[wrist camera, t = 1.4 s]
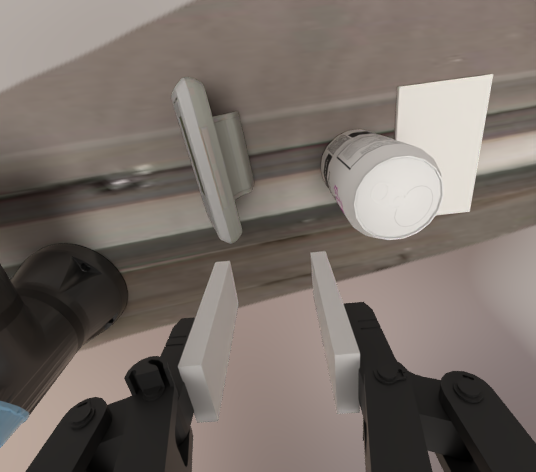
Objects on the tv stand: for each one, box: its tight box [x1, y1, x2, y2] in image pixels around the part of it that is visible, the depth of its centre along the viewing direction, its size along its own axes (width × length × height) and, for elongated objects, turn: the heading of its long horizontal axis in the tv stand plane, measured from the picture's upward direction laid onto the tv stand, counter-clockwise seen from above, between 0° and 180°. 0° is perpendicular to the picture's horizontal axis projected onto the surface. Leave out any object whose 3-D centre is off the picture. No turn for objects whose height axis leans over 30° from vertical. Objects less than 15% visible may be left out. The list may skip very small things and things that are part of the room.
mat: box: [394, 74, 493, 215], centre depth 36 cm, size 10×16×1 cm, turn 7°
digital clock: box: [171, 77, 254, 243], centre depth 32 cm, size 16×9×11 cm, turn 0°
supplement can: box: [321, 129, 444, 240], centre depth 30 cm, size 8×8×15 cm
